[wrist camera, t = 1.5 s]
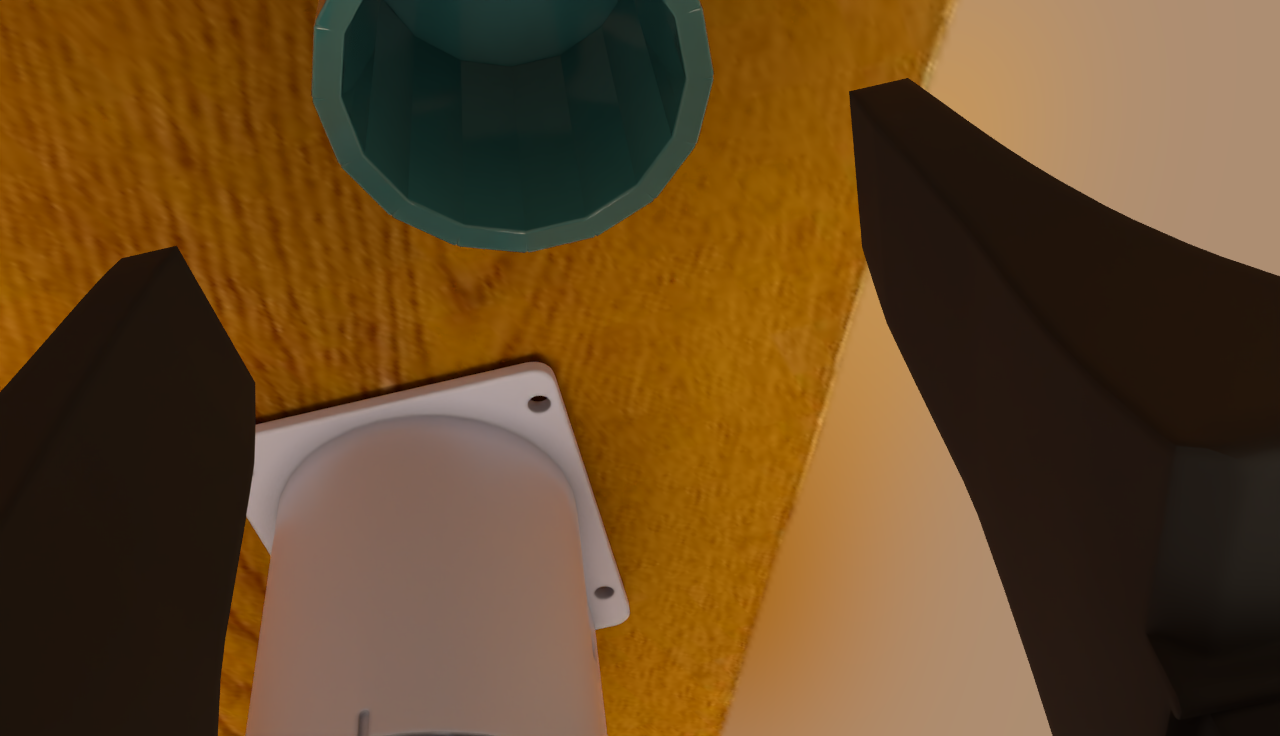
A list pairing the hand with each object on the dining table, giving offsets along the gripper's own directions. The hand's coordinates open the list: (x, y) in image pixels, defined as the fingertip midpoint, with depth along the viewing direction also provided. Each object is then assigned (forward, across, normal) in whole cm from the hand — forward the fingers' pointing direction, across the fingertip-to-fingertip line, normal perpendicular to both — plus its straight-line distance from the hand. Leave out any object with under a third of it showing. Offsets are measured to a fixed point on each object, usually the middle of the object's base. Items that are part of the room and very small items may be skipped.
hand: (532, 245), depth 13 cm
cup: (+10, 0, +1) cm, 10 cm away
